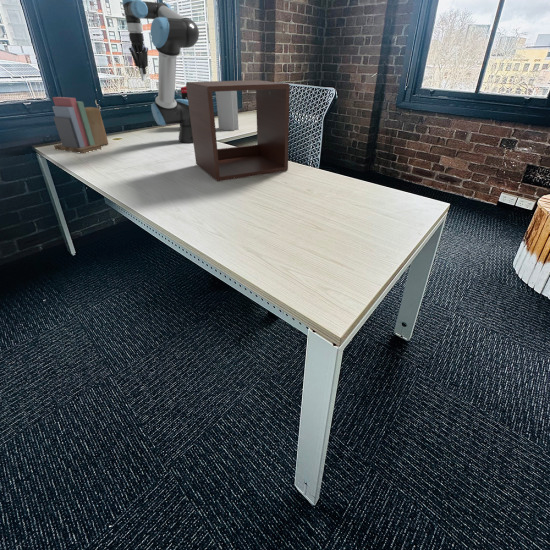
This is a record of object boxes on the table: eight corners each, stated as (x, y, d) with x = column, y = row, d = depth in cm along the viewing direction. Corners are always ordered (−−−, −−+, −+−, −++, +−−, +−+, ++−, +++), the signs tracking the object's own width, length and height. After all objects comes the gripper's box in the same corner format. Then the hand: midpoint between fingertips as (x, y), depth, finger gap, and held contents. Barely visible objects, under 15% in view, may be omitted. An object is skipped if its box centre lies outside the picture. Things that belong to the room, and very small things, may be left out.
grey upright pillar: (238, 129, 241) (236, 82, 225) (234, 130, 237) (231, 82, 221) (223, 127, 248) (220, 81, 231) (218, 129, 244) (214, 81, 227)
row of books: (95, 144, 190) (81, 97, 177) (79, 148, 183) (63, 99, 169) (77, 142, 196) (62, 96, 183) (61, 145, 188) (44, 98, 175)
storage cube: (216, 181, 140) (206, 86, 121) (196, 165, 161) (185, 82, 142) (287, 170, 153) (289, 83, 134) (260, 156, 175) (258, 80, 156)
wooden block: (93, 147, 192) (82, 109, 181) (84, 145, 198) (73, 108, 187) (109, 145, 199) (99, 108, 188) (101, 142, 204) (91, 106, 193)
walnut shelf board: (101, 148, 190) (100, 145, 189) (83, 153, 181) (82, 149, 180) (73, 145, 199) (72, 141, 198) (54, 149, 190) (53, 145, 189)
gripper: (148, 32, 190) (156, 80, 203) (132, 33, 195) (141, 80, 208) (139, 32, 185) (148, 81, 197) (122, 32, 189) (131, 80, 202)
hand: (144, 80), depth 203 cm, fingers closed
